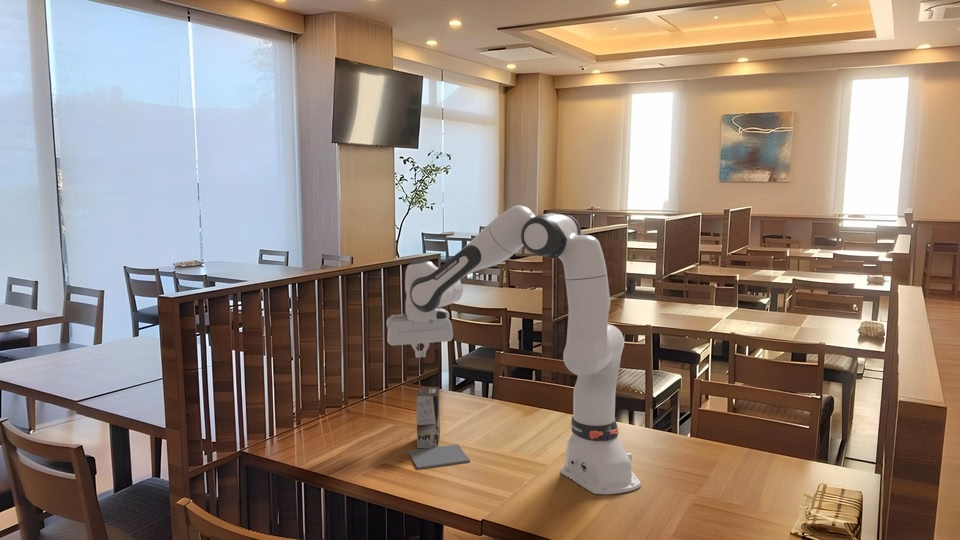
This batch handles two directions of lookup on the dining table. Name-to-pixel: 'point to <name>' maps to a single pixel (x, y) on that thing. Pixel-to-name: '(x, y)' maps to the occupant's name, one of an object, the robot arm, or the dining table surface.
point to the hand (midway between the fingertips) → (420, 356)
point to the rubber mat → (438, 456)
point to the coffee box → (428, 417)
